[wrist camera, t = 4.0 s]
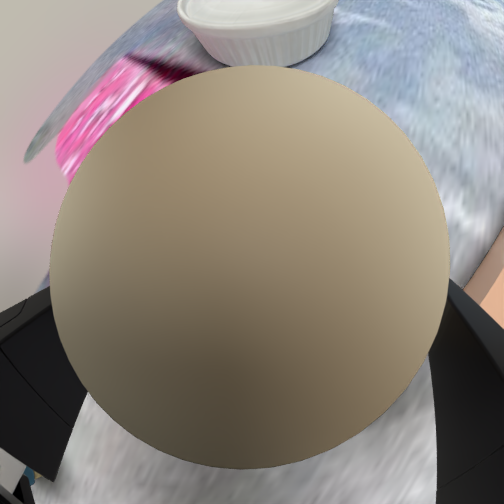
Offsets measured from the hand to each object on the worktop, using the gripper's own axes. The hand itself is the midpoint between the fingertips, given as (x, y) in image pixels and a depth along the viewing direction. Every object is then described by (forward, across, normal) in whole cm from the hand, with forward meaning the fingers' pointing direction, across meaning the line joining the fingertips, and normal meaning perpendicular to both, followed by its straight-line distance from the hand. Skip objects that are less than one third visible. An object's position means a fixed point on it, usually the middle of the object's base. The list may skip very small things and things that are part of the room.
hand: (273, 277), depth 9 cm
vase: (+5, 0, +6) cm, 8 cm away
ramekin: (+19, +3, -8) cm, 21 cm away
